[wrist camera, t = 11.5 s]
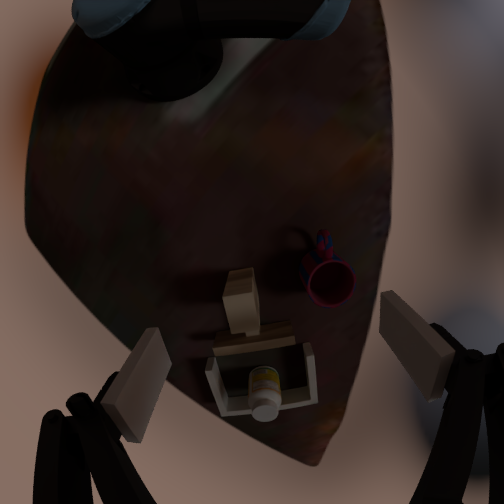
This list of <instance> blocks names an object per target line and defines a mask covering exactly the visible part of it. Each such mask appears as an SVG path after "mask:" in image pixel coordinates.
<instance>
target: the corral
mask: <svg viewBox="0 0 504 504" xmlns="http://www.w3.org/2000/svg"><path fill="white" fill-rule="evenodd" d="M303 351H304V359H305V368H306V377H307V386H305V387H299V388H294V389H288V390H282V391H281V405H280V406H279V408H278V410H282V409H289V408H294V407H300V406H305V405H310V404H315V403H318V397H317V384H316V372H315V360H314V354H313V351H312V348H311V345H310V342H307V343H303ZM205 373H206V376H207V379H208V382H209V384H210V387H211V390H212V393H213V395H214V398H215V400H216V403H217V406H218V408H219V411H220V413H221V416H233V415H244V414H252V409H251V408H250V407H249V405H248V395H247V396H238V397H228V395H227V392H226V390H225V387H224V384H223V380H222V377H221V374H220V371H219V368H218V365H217V362H216V359H215V357H208V360H207V364H206V368H205Z"/></svg>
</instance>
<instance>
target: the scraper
mask: <svg viewBox="0 0 504 504" xmlns="http://www.w3.org/2000/svg"><path fill="white" fill-rule="evenodd" d="M222 298H223V302H224V306H225V310H226V314H227V318H228V322H229V326H230V330H226V331H219V332H216V336H215V341H214V345H213V351H214V354H215V356H222V355H230V354H238V353H245V352H252V351H259V350H265V349H271V348H277V347H283V346H289V345H294V344H295V337H294V333H293V329H292V325H291V321H290V320H288V321H282V322H277V323H271V324H265V325H260V317H259V297H258V292H257V287H256V282H255V276H254V271H253V267H251V268H245V269H239V270H234V271H229V275H228V278H227V282H226V285H225V289H224V293H223V296H222Z"/></svg>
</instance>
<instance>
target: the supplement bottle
mask: <svg viewBox="0 0 504 504" xmlns="http://www.w3.org/2000/svg"><path fill="white" fill-rule="evenodd" d="M248 405H249V407H250V408H251V409H252V416H253V417H254V418H255V419H256V420H258V421H262V422H267V421H271V420H274V419H275V418H276V417H277V416H278V408H279V406H280V405H281V391H280V383H279V376H278V373H277V371H276V370H275V369H274V368H272V367H269V366H259V367H256V368H255V369H253V370H252V371H251V372H250V374H249V385H248Z"/></svg>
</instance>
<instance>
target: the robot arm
mask: <svg viewBox="0 0 504 504" xmlns="http://www.w3.org/2000/svg"><path fill="white" fill-rule="evenodd" d="M350 1H351V0H73V3H72V17H73V19H74V21H75V22H76V23H77V24H78V25H79V26H80V27H81V28H82V29H83V30H84V32H85V34H86V35H87V36H88V37H90V38H92V39H93V40H94V41H96V42H97V43H98V44H99V45H101V46H102V47H103V48H105V49H106V50H107V51H109V52H110V53H111V54H112V55H114V56H115V57H116V58H117V59H119V60H120V61H121V62H122V63H123V65H124V69H125V72H126V76H127V79H128V81H129V82H130V84H131V85H132V86H133V88H134V89H135V90H137V91H138V92H139V93H141V94H142V95H143V96H145V97H147V98H149V99H152V100H157V101H174V100H179V99H182V98H185V97H188V96H190V95H192V94H194V93H196V92H198V91H199V90H201V89H202V88H203V87H205V86H206V85H207V84H208V83H209V82H210V81H211V80H212V79H213V78H214V76H215V75H216V74H217V72H218V70H219V68H220V66H221V63H222V59H223V47H222V43H221V39H226V38H278V39H280V40H284V41H288V40H292V39H298V40H320V39H322V38H324V37H327V36H329V35H330V34H331V33H333V32H334V31H335V30H336V28H337V27H338V26H339V24H340V23H341V21H342V20H343V18H344V16H345V14H346V12H347V9H348V7H349V4H350ZM380 302H381V303H380V327H379V333H380V334H381V335H382V337H383V338H384V340H385V341H386V342H387V344H388V345H389V346H390V348H391V349H392V351H393V352H394V353H395V355H396V356H397V358H398V359H399V361H400V362H401V363H402V365H403V366H404V368H405V369H406V371H407V372H408V373H409V375H410V376H411V378H412V379H413V381H414V382H415V384H416V385H417V387H418V388H419V390H420V391H421V392H422V394H423V396H424V397H425V399H426V400H427V402H428V403H429V402H431V401H433V400H436V399H438V398H440V397H441V396H442V394H443V391H444V388H445V389H446V390H447V392H448V395H447V398H446V401H445V403H444V406H443V409H444V411H443V415H442V418H441V422H440V425H439V429H438V432H437V435H436V438H435V441H434V445H433V448H432V450H431V453H430V456H429V459H428V462H427V464H426V467H425V469H424V472H423V474H422V476H421V479H420V481H419V483H418V486H417V488H416V490H415V492H414V495H413V497H412V498H411V501H410V503H409V504H463V503H462V497H463V494H464V491H465V488H466V485H467V482H468V478H469V475H470V471H471V467H472V464H473V459H474V455H475V451H476V446H477V441H478V435H479V429H480V423H481V416H482V407H483V406H484V413H485V419H486V427H487V436H488V447H489V465H490V466H489V468H490V488H489V489H490V490H489V504H504V343H501V344H500V345H498V347H497V350H496V353H494V354H489V355H483V353H482V352H480V351H478V350H474V349H468V350H467V349H466V348H464V347H463V346H462V345H461V344H460V343H459V342H458V341H457V340H456V339H455V338H454V337H452V335H451V334H450V333H449V332H448V331H447V330H446V329H444V328H443V327H442V326H440V325H438V324H436V323H432V324H428V323H427V322H426V321H425V320H424V319H423V318H422V317H421V316H419V315H418V314H417V313H416V312H415V311H414V310H413V309H412V308H411V307H410V306H409V305H408V304H407V303H405V301H403V300H402V299H401V298H400V297H399V296H398V295H397V294H396V293H395V292H394V291H392V290H390V291H386V292H382V293H381V301H380ZM171 364H172V363H171V361H170V358H169V356H168V353H167V350H166V348H165V345H164V342H163V340H162V337H161V334H160V331H159V329H158V327H156V328H147V329H146V330H145V332H144V333H143V335H142V336H141V338H140V340H139V341H138V343H137V344H136V346H135V347H134V349H133V350H132V352H131V354H130V355H129V357H128V358H127V360H126V362H125V364H124V365H123V366H122V368H121V370H120V371H119V372H114V373H113V374H112V375H111V376H110V377H109V378H108V379H107V381H106V383H105V385H104V386H103V387H102V390H100V392H99V393H98V395H97V397H96V398H95V400H94V402H92V400H91V399H90V397H89V396H88V394H86V393H83V392H81V393H76V394H74V395H72V396H71V397H70V398H69V399H68V400H67V402H66V407H67V408H68V410H69V411H70V413H71V414H72V416H66V417H65V416H64V415H63V414H62V412H61V411H60V410H57V409H54V410H50V411H48V412H47V413H46V414H45V415H44V417H43V419H42V424H41V429H40V435H39V441H38V447H37V455H36V462H35V472H34V484H33V485H34V486H33V504H93V496H92V487H91V475H92V478H93V480H94V483H95V485H96V488H97V490H98V493H99V495H100V497H101V500H102V502H103V504H157V503H156V502H155V500H154V499H153V497H152V496H151V494H150V493H149V491H148V490H147V488H146V486H145V485H144V483H143V481H142V480H141V478H140V476H139V475H138V473H137V471H136V469H135V467H134V465H133V464H132V462H131V460H130V458H129V456H128V454H127V452H126V450H125V449H124V446H123V444H122V443H121V442H120V440H119V439H120V437H121V435H123V437H124V438H125V439H126V440H127V442H133V443H141V441H142V439H143V436H144V433H145V431H146V428H147V425H148V423H149V420H150V417H151V415H152V412H153V410H154V407H155V404H156V402H157V399H158V397H159V394H160V392H161V389H162V387H163V384H164V382H165V379H166V377H167V374H168V372H169V369H170V367H171ZM90 472H91V475H90Z"/></svg>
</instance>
